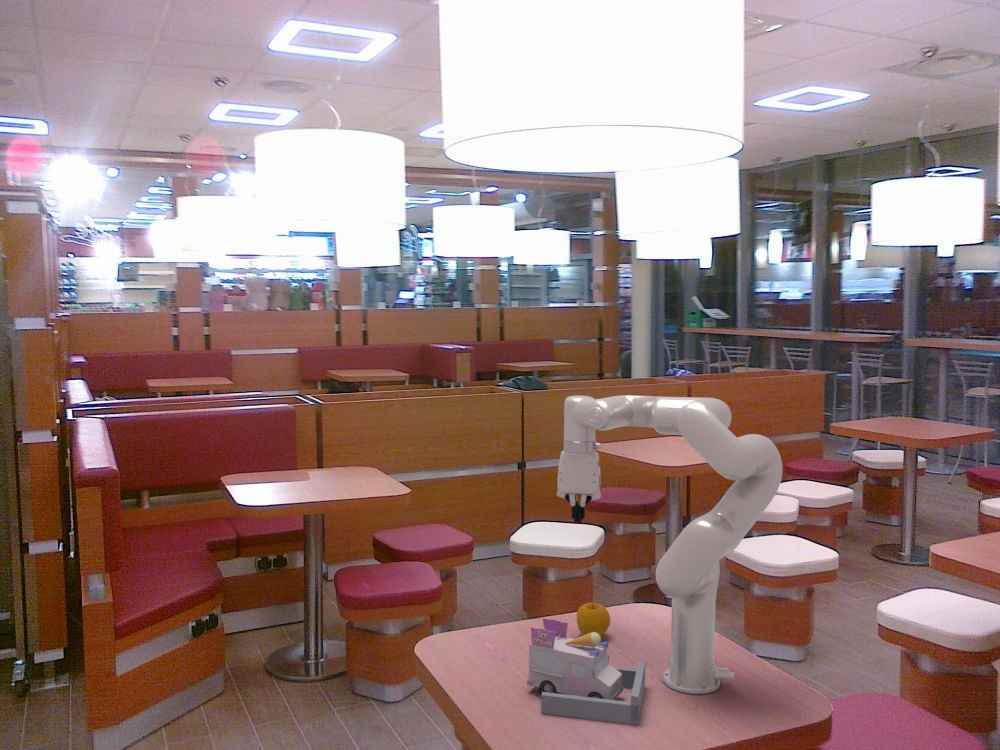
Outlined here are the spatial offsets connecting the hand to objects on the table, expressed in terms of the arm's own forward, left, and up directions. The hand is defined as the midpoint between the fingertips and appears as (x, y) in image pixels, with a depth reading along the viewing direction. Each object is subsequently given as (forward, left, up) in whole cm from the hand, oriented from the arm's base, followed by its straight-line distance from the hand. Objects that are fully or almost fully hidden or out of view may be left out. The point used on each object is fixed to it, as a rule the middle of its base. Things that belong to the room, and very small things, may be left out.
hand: (578, 521), depth 212 cm
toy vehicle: (-4, +25, -32) cm, 41 cm away
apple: (-3, -8, -32) cm, 33 cm away
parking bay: (-8, +26, -32) cm, 42 cm away
